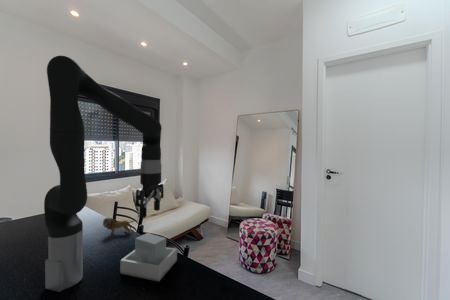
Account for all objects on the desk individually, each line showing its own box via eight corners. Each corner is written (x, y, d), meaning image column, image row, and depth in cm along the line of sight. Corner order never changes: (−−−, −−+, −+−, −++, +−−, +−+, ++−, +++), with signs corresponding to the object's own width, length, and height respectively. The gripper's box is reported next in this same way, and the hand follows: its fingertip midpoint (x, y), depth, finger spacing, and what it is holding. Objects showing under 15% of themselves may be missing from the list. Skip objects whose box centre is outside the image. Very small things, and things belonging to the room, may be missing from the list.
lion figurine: (101, 237, 102) (101, 220, 102) (103, 233, 107) (103, 216, 107) (133, 233, 108) (133, 216, 107) (134, 229, 112) (134, 213, 112)
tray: (159, 281, 71) (159, 267, 70) (120, 273, 75) (120, 260, 74) (176, 260, 83) (176, 248, 83) (142, 255, 87) (142, 243, 87)
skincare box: (166, 263, 80) (166, 237, 79) (154, 273, 74) (154, 244, 74) (147, 256, 84) (147, 231, 84) (134, 265, 78) (134, 238, 78)
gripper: (148, 174, 70) (147, 221, 70) (169, 170, 84) (168, 209, 84) (129, 173, 72) (128, 218, 72) (153, 169, 86) (152, 207, 86)
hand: (150, 213), depth 78 cm, fingers open, 8 cm apart
